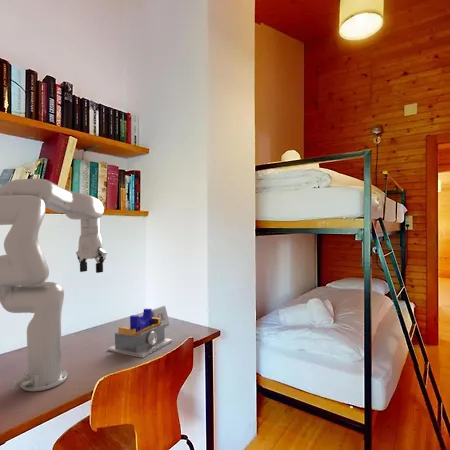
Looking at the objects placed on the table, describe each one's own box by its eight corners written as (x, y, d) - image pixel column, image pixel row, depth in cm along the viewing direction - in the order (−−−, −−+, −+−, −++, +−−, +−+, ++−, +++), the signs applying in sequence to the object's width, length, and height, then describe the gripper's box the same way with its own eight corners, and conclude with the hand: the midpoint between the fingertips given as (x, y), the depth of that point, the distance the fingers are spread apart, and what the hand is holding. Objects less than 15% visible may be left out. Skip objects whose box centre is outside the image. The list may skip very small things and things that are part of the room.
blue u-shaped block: (142, 322, 135) (142, 308, 135) (152, 322, 133) (151, 308, 134) (126, 331, 123) (126, 316, 123) (137, 332, 122) (136, 316, 122)
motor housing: (142, 357, 116) (142, 332, 116) (107, 350, 124) (107, 326, 125) (172, 341, 132) (171, 319, 132) (139, 336, 140) (138, 314, 141)
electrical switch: (157, 329, 149) (155, 309, 150) (149, 329, 151) (147, 309, 152) (169, 324, 157) (168, 305, 158) (161, 323, 160) (160, 305, 160)
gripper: (69, 232, 134) (70, 272, 133) (97, 231, 126) (98, 274, 126) (84, 231, 140) (85, 270, 140) (112, 231, 132) (113, 271, 132)
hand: (91, 271), depth 133 cm, fingers open, 9 cm apart
